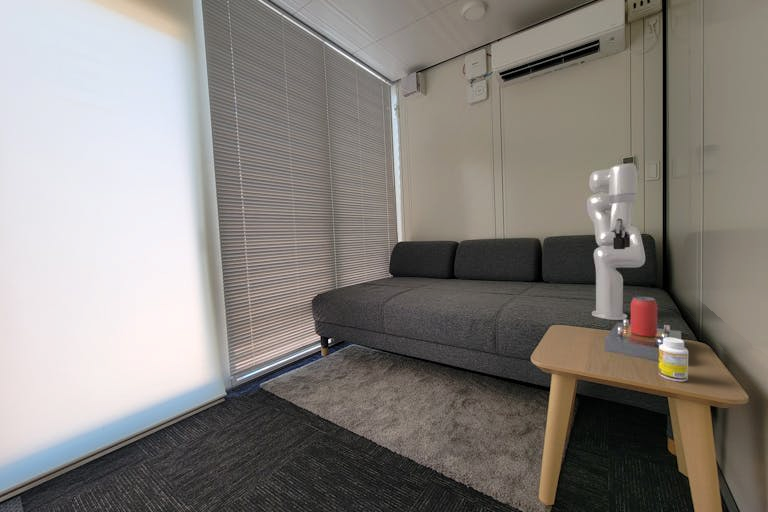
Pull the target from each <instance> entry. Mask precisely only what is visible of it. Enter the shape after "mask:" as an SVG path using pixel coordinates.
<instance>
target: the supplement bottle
mask: <svg viewBox="0 0 768 512" xmlns="http://www.w3.org/2000/svg"><path fill="white" fill-rule="evenodd" d="M658 374H659V375H660V376H661V377H662V378H664V379H666V380H669V381H673V382H687V381H688V380H689V350H688V349H687V347H685V341H684V340H683V339H682V338H681V339H677V338H671V337H665V338H663V344H661V345H660V346H659V361H658Z"/></svg>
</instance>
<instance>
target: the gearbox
mask: <svg viewBox="0 0 768 512" xmlns="http://www.w3.org/2000/svg"><path fill="white" fill-rule="evenodd" d="M622 321H623V322H618V321H617V322H616V323H615V324H614V326H613V327H612V329H611V330H610V331H609V333H608V334H607V335H606V336H605V337H604V351H607V352H612V353H616V354H621V355H626V356H631V357H636V358H640V359H646V360H651V361H654V362H655V361H656V362H659V346H660V345H661V344H663V338H665V337H671V338H677V339H681V340H682V331H680V330H671V326H670V324H669V325H668V324H664V325H663V328H658V327H657V334H656V336H652V337H646V336H639V335H636V334H634V333H632V332H631V330H630V329H631V323H630V324H629V319H623V320H622Z"/></svg>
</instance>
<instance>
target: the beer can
mask: <svg viewBox="0 0 768 512" xmlns="http://www.w3.org/2000/svg"><path fill="white" fill-rule="evenodd" d="M630 324H631V329H630V330H631V332H632V333H634V334H636V335H639V336H646V337H652V336H656V334H657V328H658V303H657V302H656V299H655V298H654V297H649V296H648V297H647V296H633V297H632V300H631V302H630Z"/></svg>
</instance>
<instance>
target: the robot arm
mask: <svg viewBox="0 0 768 512" xmlns="http://www.w3.org/2000/svg"><path fill="white" fill-rule="evenodd" d="M638 180H639V171H638V170H637V166H636V164H634V163H621V164H617V165H614V166H611V167H610V168H609V169H607V168H606V169H601V170H600V169H599V170H595V171H593V172H592V173H591V174H590V176H589V181H588V186H589V188H590V189H589V190H590V191H591V192H597V194H593V195H591V196H589V197H588V198H587V201H586V210H587V214H588V215H589V216H588V217H589V218H590V220H591V222H592V224H593V225H594V234H595V242H596V244H597V246H598V247H596V248H595V249H594V251H593V260H594V261H593V262H594V266H595V310H592V312H591V315H592V316H593V317H595V318H599V319H601V320H602V319H603V320H610V321H611V320H612V321H623V319H626V320H628V315H627V314H626V313H624V311H623V308H624V307H623V303H624V302H623V301H624V300H623V299H624V298H623V297H624V291H623V290H624V279H623V275H622V274H621V273H620V272H619V271H617V269H618V268H640V267H642V266H644V264H645V263H646V253H645V252H646V251H645V248H644V244H643V238H642V234H641V232H640V230H639V228H637V227H636V226H632V219H633V218H632V217H633V213H632V212H633V205H635V204H637V189H638V185H639V181H638ZM609 211H610V213H608V212H609ZM616 268H617V269H616Z"/></svg>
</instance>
